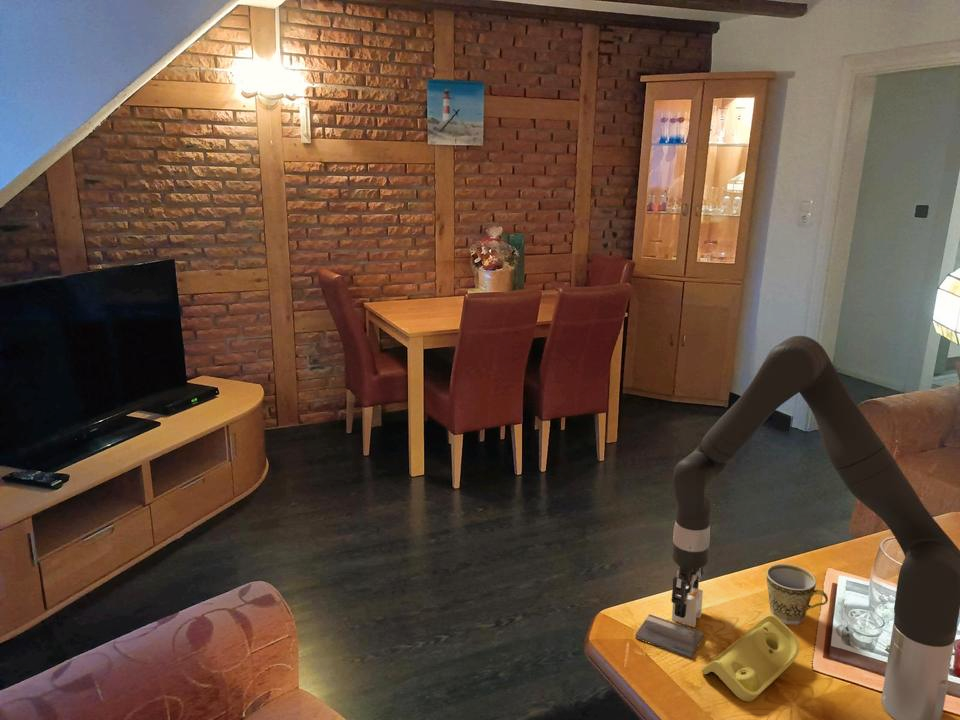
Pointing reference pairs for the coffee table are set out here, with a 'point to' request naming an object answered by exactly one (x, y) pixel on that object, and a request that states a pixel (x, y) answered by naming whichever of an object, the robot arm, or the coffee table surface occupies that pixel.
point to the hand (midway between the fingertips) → (686, 605)
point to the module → (691, 608)
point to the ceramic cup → (791, 592)
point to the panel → (670, 635)
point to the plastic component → (756, 658)
